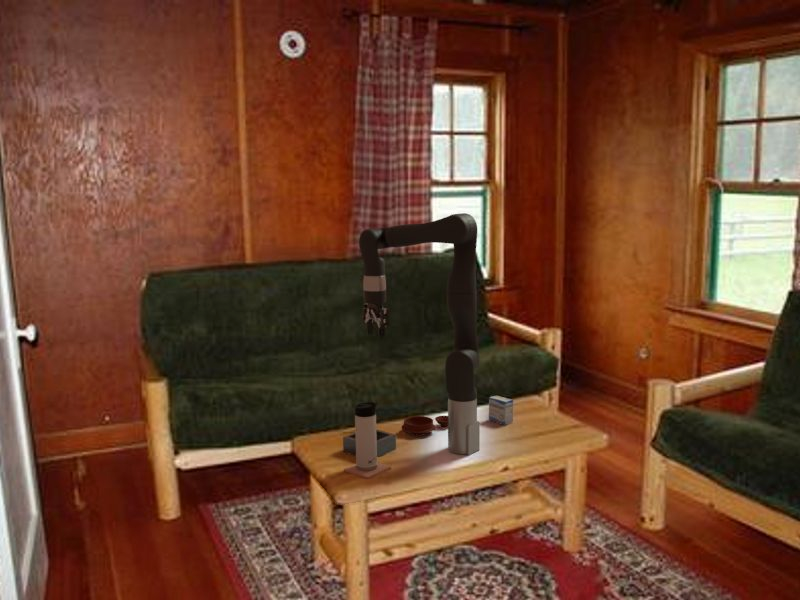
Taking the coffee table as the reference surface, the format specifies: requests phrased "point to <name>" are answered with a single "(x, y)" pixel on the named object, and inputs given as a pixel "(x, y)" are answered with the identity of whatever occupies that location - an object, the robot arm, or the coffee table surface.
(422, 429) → the pottery
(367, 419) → the travel mug
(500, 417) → the medicine box
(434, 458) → the coffee table surface
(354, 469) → the rubber mat
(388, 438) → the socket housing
